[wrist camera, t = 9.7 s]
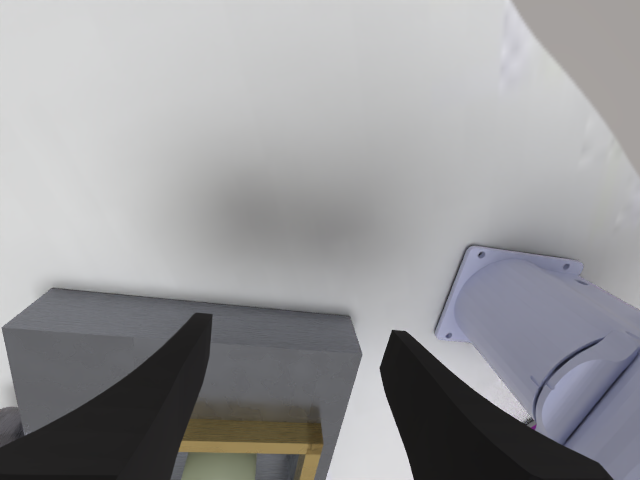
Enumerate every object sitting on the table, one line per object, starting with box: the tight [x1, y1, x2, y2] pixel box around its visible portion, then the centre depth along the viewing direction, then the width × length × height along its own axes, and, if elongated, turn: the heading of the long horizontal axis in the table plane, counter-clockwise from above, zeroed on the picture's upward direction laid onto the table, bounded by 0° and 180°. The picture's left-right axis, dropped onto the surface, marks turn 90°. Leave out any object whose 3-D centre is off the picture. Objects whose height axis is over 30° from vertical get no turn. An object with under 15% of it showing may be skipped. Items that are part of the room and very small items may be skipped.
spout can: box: [181, 452, 257, 480], centre depth 23 cm, size 5×5×8 cm
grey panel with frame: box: [0, 288, 362, 480], centre depth 23 cm, size 23×22×6 cm
